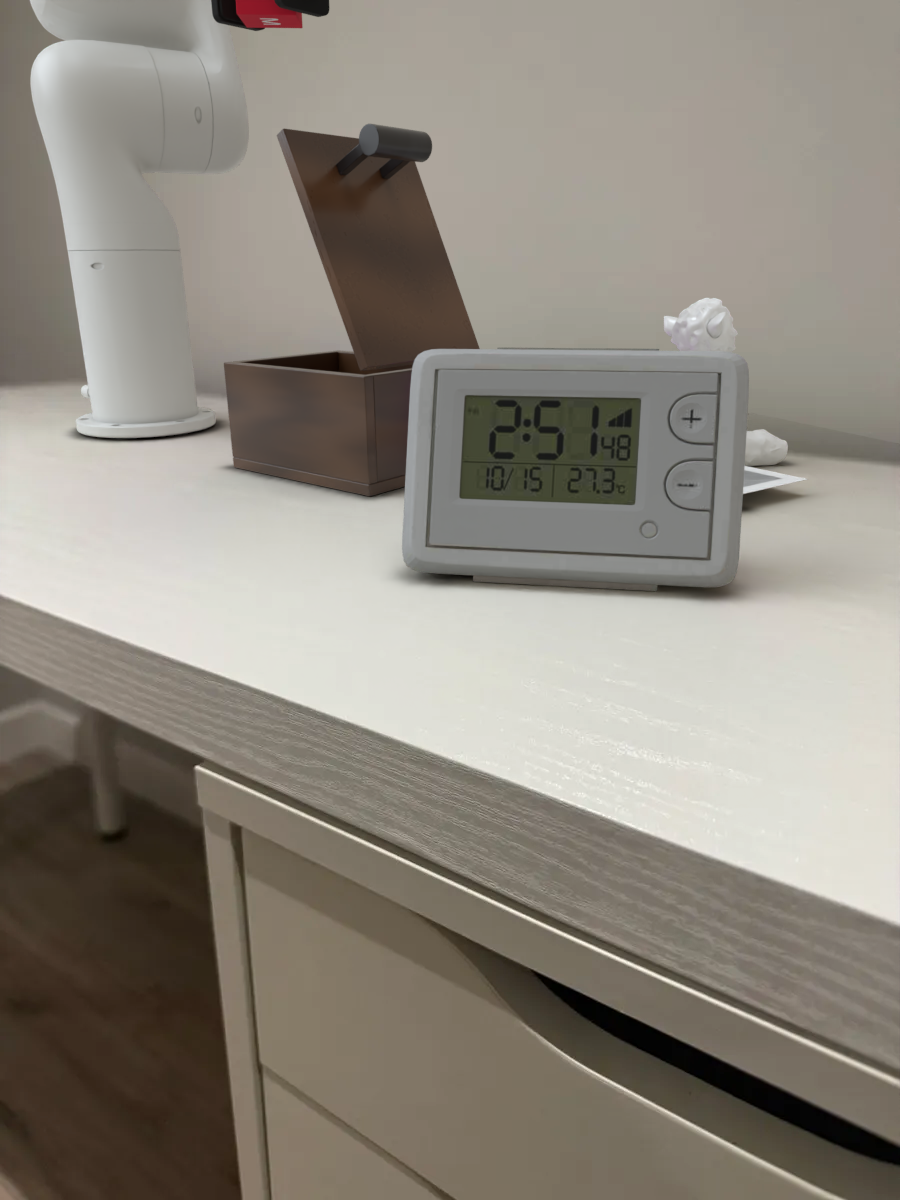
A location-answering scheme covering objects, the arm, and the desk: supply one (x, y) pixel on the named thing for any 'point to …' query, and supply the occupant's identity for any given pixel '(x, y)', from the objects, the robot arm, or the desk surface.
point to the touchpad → (765, 479)
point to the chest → (320, 420)
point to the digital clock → (576, 466)
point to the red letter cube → (267, 15)
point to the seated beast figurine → (714, 331)
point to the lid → (379, 242)
